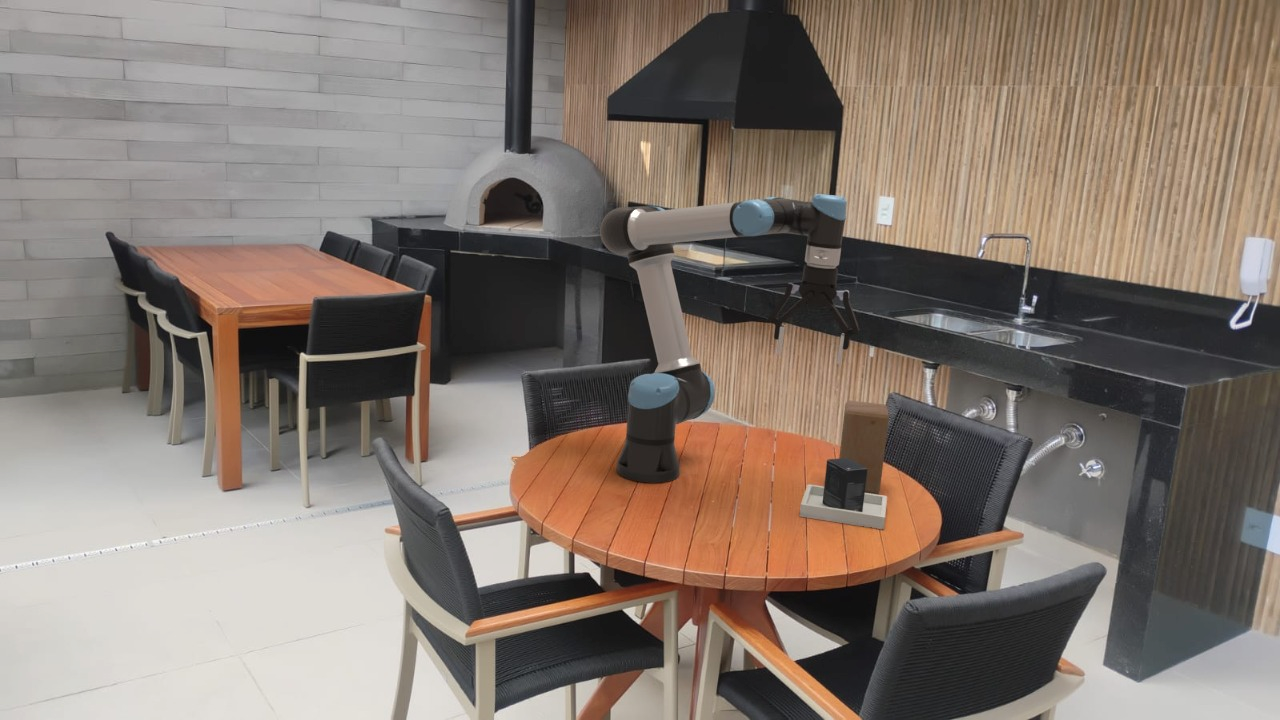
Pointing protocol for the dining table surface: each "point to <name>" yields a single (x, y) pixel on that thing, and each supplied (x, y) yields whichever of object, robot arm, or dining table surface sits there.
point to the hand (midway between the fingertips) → (808, 358)
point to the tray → (817, 510)
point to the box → (844, 484)
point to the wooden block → (865, 439)
